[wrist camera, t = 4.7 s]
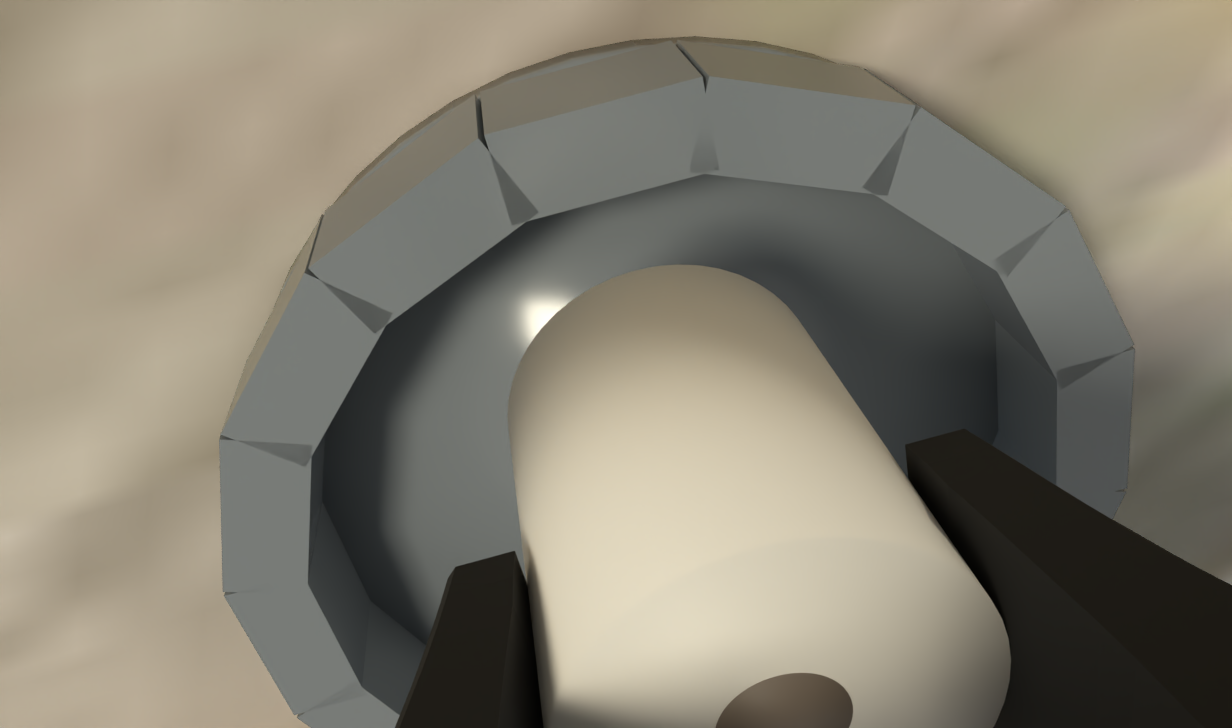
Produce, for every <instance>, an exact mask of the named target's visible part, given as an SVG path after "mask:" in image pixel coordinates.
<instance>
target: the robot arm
mask: <svg viewBox="0 0 1232 728" xmlns="http://www.w3.org/2000/svg"><path fill="white" fill-rule="evenodd" d="M905 449H906V460H907V472H908V479H909V481H910V482H911V484H912V485H913V487H914V488H915V490H916V491H917V493H918V494H919V495H920V497H921V498H922V500H923V501H924V503H925V504H926V506H927V507H928V509H929V510H930V511H931V513H932V514H933V516H934V517H935V519H936V520H937V522H938V523H939V525H940V526H941V527H942V529H943V530H944V532H945V533H946V535H947V536H948V538H949V539H950V540H951V542H952V543H953V545H954V546H955V548H956V549H957V551H958V552H959V554H960V555H961V556H962V558H963V559H964V561H965V562H966V564H967V565H968V567H969V568H970V570H971V571H972V572H973V574H974V575H975V577H976V578H977V580H978V581H979V583H980V584H981V586H982V587H983V588H984V590H985V591H986V593H987V594H988V596H989V597H990V599H991V600H992V602H993V604H994V605H995V607H996V609H997V611H998V612H999V614H1000V616H1001V618H1002V620H1003V623H1004V626H1005V629H1006V632H1007V635H1008V638H1009V646H1010V655H1011V667H1010V681H1009V685H1008V689H1007V693H1006V698H1005V702H1004V704H1003V707H1002V709H1001V712H1000V714H999V716H998V719H997V721H996V723H995V725H994V727H993V728H1232V585H1230V584H1228V583H1226V582H1224V581H1222V580H1220V579H1218V578H1216V577H1214V576H1212V575H1211V574H1209V573H1207V572H1205V571H1203V570H1201V569H1199V568H1197V567H1195V566H1194V565H1192V564H1190V563H1188V562H1186V561H1184V560H1183V559H1181V558H1179V557H1177V556H1175V555H1173V554H1172V553H1170V552H1168V551H1166V550H1165V549H1163V548H1161V547H1159V546H1158V545H1156V544H1154V543H1152V542H1151V541H1149V540H1147V539H1145V538H1144V537H1142V536H1140V535H1139V534H1137V533H1135V532H1133V531H1132V530H1130V529H1128V528H1126V527H1125V526H1123V525H1121V524H1119V523H1118V522H1116V521H1114V520H1112V519H1111V518H1109V517H1107V516H1106V515H1104V514H1102V513H1101V512H1099V511H1097V510H1096V509H1094V508H1092V507H1091V506H1089V505H1087V504H1086V503H1084V502H1082V501H1081V500H1079V499H1077V498H1076V497H1074V496H1073V495H1071V494H1069V493H1068V492H1066V491H1064V490H1063V489H1061V488H1060V487H1058V486H1056V485H1055V484H1053V483H1051V482H1050V481H1048V480H1047V479H1045V478H1043V477H1042V476H1040V475H1039V474H1037V473H1035V472H1034V471H1032V470H1031V469H1029V468H1027V467H1026V466H1024V465H1023V464H1021V463H1019V462H1018V461H1016V460H1015V459H1013V458H1011V457H1010V456H1008V455H1007V454H1005V453H1003V452H1002V451H1000V450H999V449H997V448H995V447H994V446H992V445H991V444H989V443H987V442H986V441H984V440H982V439H981V438H979V437H978V436H976V435H974V434H973V433H971V432H969V431H968V430H966V429H965V428H964V429H961V430H957V431H953V432H950V433H946V434H942V435H939V436H935V437H931V438H928V439H924V440H920V441H916V442H913V443H909V444H905ZM395 728H544V727H543V718H542V710H541V701H540V692H539V683H538V674H537V665H536V656H535V647H534V639H533V630H532V622H531V613H530V604H529V596H528V587H527V582H526V580H525V577H524V574H523V571H522V569H521V566H520V563H519V561H518V558H517V555H516V552H515V551H512V552H508V553H504V554H501V555H497V556H493V557H490V558H486V559H482V560H478V561H475V562H471V563H467V564H464V565H460V566H456V567H455V568H454V570H453V571H452V573H451V574H450V576H449V577H448V579H447V583H446V586H445V589H444V593H443V596H442V599H441V603H440V606H439V609H438V612H437V615H436V618H435V621H434V624H433V627H432V630H431V633H430V636H429V639H428V642H427V645H426V648H425V650H424V653H423V656H422V659H421V661H420V664H419V667H418V670H417V672H416V675H415V678H414V681H413V683H412V686H411V689H410V691H409V693H408V696H407V698H406V701H405V703H404V706H403V708H402V711H401V713H400V716H399V718H398V721H397V723H396V726H395Z"/></svg>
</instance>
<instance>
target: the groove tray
mask: <svg viewBox="0 0 1232 728" xmlns="http://www.w3.org/2000/svg"><path fill="white" fill-rule="evenodd" d="M1065 207H1066V206H1065V205H1063V204H1062V203H1060V202H1059V201H1057V200H1056V199H1054V198H1053V197H1051V196H1050V195H1048V194H1047V193H1046V192H1044V191H1043V190H1041V189H1040V188H1038V187H1037V186H1035V185H1034V184H1032V183H1031V182H1029V181H1028V180H1027V179H1025V178H1024V177H1022V176H1021V175H1019V174H1018V173H1016V172H1015V171H1013V170H1012V169H1010V168H1009V167H1008V166H1006V165H1005V164H1003V163H1002V162H1000V161H999V160H997V159H996V158H994V157H993V156H992V155H990V154H989V153H987V152H986V151H984V150H983V149H981V148H980V147H978V146H977V145H975V144H974V143H973V142H971V141H970V140H968V139H967V138H965V137H964V136H962V135H961V134H959V133H958V132H956V131H955V130H954V129H952V128H951V127H949V126H948V125H946V124H945V123H943V122H942V121H940V120H939V119H937V118H936V117H935V116H933V115H932V114H930V113H929V112H927V111H926V110H924V109H923V108H921V107H920V106H918V105H917V104H916V103H914V102H913V101H911V100H910V99H908V98H907V97H905V96H904V95H902V94H901V93H899V92H898V91H896V90H895V89H894V88H892V87H891V86H889V85H888V84H886V83H885V82H883V81H882V80H880V79H879V78H877V77H876V76H874V75H873V74H872V73H870V72H869V71H867V70H866V69H862V68H861V67H857V66H850V65H843V64H837V63H834V62H832V61H829V60H827V59H824V58H822V57H819V56H816V55H814V54H810V53H806V52H801V51H797V50H792V49H788V48H783V47H779V46H774V45H770V44H766V43H761V42H757V41H746V40H734V39H721V38H708V37H696V36H693V37H676V38H659V39H643V40H630V41H625V42H620V43H615V44H610V45H605V46H600V47H595V48H589V49H584V50H579V51H574V52H569V53H566V54H563V55H560V56H558V57H555V58H552V59H549V60H546V61H543V62H540V63H537V64H534V65H531V66H528V67H525V68H522V69H519V70H516V71H513V72H510V73H508V74H506V75H504V76H502V77H500V78H498V79H496V80H494V81H492V82H490V83H488V84H486V85H484V86H482V87H480V88H478V89H476V90H474V91H472V92H470V93H468V94H466V95H464V96H462V97H460V98H458V99H456V100H454V101H452V102H450V103H449V104H447V105H446V106H444V107H443V108H442V109H440V110H439V111H437V112H436V113H434V114H433V115H431V116H430V117H428V118H427V119H425V120H424V121H422V122H421V123H419V124H418V125H416V126H415V127H413V128H412V129H411V130H409V131H408V132H406V133H405V134H403V135H402V136H400V137H399V138H398V139H397V140H396V141H395V142H394V143H393V144H392V145H390V146H389V147H388V148H387V149H386V150H385V151H384V152H383V153H382V154H380V155H379V156H378V157H377V158H376V159H375V160H374V161H373V162H372V163H370V164H369V165H368V166H367V167H366V168H365V169H364V170H363V171H362V172H360V173H359V174H358V175H357V176H356V177H355V178H354V180H353V181H352V182H351V183H350V184H349V186H348V187H347V188H346V189H345V190H344V192H343V193H342V194H341V195H340V196H339V198H338V199H337V200H336V201H335V202H334V204H333V205H331V206H330V207H329V208H328V209H326V210H325V213H324V215H321V217H320V219H319V221H318V223H317V225H316V227H315V228H314V230H313V232H312V233H311V235H310V237H309V238H308V240H307V242H306V243H305V245H304V246H303V248H302V250H301V251H300V253H299V255H298V256H297V258H296V260H295V261H294V263H293V264H292V266H291V268H290V270H289V272H288V275H287V277H286V280H285V282H284V284H283V287H282V289H281V292H280V294H279V296H278V299H277V301H276V304H275V306H274V308H273V311H272V313H271V315H270V316H269V318H268V320H267V322H266V324H265V326H264V328H263V330H262V332H261V334H260V336H259V338H258V340H257V342H256V344H255V346H254V348H253V350H252V352H251V353H250V355H249V357H248V359H247V361H246V364H245V367H244V370H243V373H242V375H241V378H240V381H239V384H238V387H237V389H236V392H235V395H234V398H233V401H232V403H231V406H230V409H229V412H228V415H227V418H226V420H225V423H224V426H223V429H222V432H221V434H220V435H221V436H220V439H219V448H220V492H221V535H222V579H223V592H225V595H224V597H225V598H226V600H227V602H228V604H229V605H230V607H231V609H232V610H233V612H234V614H235V615H236V617H237V619H238V620H239V622H240V624H241V626H242V627H243V629H244V631H245V632H246V634H247V636H248V637H249V639H250V641H251V643H252V644H253V646H254V648H255V649H256V651H257V653H258V654H259V656H260V658H261V659H262V661H263V663H264V665H265V666H266V668H267V670H268V671H269V673H270V675H271V676H272V678H273V680H274V681H275V683H276V685H277V687H278V688H279V690H280V692H281V693H282V695H283V697H284V698H285V700H286V702H287V704H288V705H289V707H290V709H291V710H292V712H293V714H294V715H296V714H298V716H297V718H298V719H299V720H301V721H302V722H304V723H305V724H307V725H308V726H309V727H311V728H395V726H396V723H397V721H398V718H399V716H400V713H401V711H402V708H403V706H404V703H405V701H406V698H407V696H408V693H409V691H410V689H411V686H412V683H413V681H414V678H415V675H416V672H417V670H418V667H419V664H420V661H421V659H422V656H423V653H424V650H425V648H426V645H427V642H428V639H429V636H430V633H431V630H432V627H433V624H434V621H435V618H436V615H437V612H438V609H439V606H440V603H441V599H442V596H443V593H444V589H445V586H446V583H447V579H448V577H449V576H450V574H451V573H452V571H453V570H454V568H455V567H456V566H460V565H464V564H467V563H471V562H475V561H478V560H482V559H486V558H490V557H493V556H497V555H501V554H504V553H508V552H512V551H515V552H516V555H517V558H518V561H519V563H520V566H521V569H522V571H523V574H524V577H525V580H526V574H525V566H524V557H523V549H522V540H521V532H520V523H519V515H518V506H517V498H516V489H515V481H514V472H513V464H512V455H511V447H510V438H509V429H508V418H507V417H508V400H509V395H510V390H511V386H512V381H513V379H514V376H515V373H516V371H517V368H518V365H519V363H520V361H521V359H522V357H523V355H524V354H525V352H526V350H527V348H528V346H529V345H530V343H531V342H532V341H533V339H534V338H535V337H536V335H537V334H538V332H539V331H540V330H541V328H542V327H543V326H544V325H545V324H546V323H547V322H548V321H549V320H550V319H551V318H552V317H553V316H554V315H555V314H556V313H557V312H558V311H559V310H561V309H562V308H563V307H564V306H566V305H567V304H568V303H569V302H571V301H572V300H573V299H575V298H576V297H578V296H579V295H581V294H583V293H584V292H586V291H587V290H589V289H590V288H592V287H594V286H596V285H599V284H601V283H603V282H605V281H607V280H609V279H611V278H614V277H617V276H620V275H623V274H626V273H629V272H632V271H636V270H640V269H645V268H650V267H654V266H665V265H676V264H678V265H700V266H706V267H713V268H719V269H722V270H726V271H729V272H732V273H736V274H739V275H741V276H743V277H745V278H748V279H750V280H752V281H754V282H756V283H758V284H760V285H761V286H763V287H764V288H766V289H767V290H769V291H770V292H772V293H773V294H774V295H776V296H777V297H778V298H779V299H780V300H781V301H782V302H783V303H785V304H786V305H787V306H788V308H789V309H790V310H791V311H792V312H793V314H794V315H795V316H796V317H797V318H798V320H799V321H800V323H801V324H802V326H803V327H804V328H805V330H806V331H807V333H808V334H809V336H810V337H811V339H812V340H813V341H814V343H815V344H816V346H817V347H818V349H819V350H820V352H821V353H822V355H823V356H824V357H825V359H826V360H827V362H828V363H829V365H830V366H831V368H832V369H833V371H834V372H835V373H836V375H837V376H838V378H839V379H840V381H841V382H842V384H843V385H844V387H845V388H846V389H847V391H848V392H849V394H850V395H851V397H852V398H853V400H854V401H855V403H856V404H857V405H858V407H859V408H860V410H861V411H862V413H863V414H864V416H865V417H866V418H867V420H868V421H869V423H870V424H871V426H872V427H873V429H874V430H875V432H876V433H877V434H878V436H879V437H880V439H881V440H882V442H883V443H884V445H885V446H886V448H887V449H888V450H889V452H890V453H891V455H892V456H893V458H894V459H895V461H896V462H897V464H898V465H899V466H900V468H901V469H902V471H903V472H904V474H905V475H906V477H907V478H908V472H907V460H906V449H905V444H909V443H913V442H916V441H920V440H924V439H928V438H931V437H935V436H939V435H942V434H946V433H950V432H953V431H957V430H961V429H964V428H965V429H966V430H968V431H969V432H971V433H973V434H974V435H976V436H978V437H979V438H981V439H982V440H984V441H986V442H987V443H989V444H991V445H992V446H994V447H995V448H997V449H999V450H1000V451H1002V452H1003V453H1005V454H1007V455H1008V456H1010V457H1011V458H1013V459H1015V460H1016V461H1018V462H1019V463H1021V464H1023V465H1024V466H1026V467H1027V468H1029V469H1031V470H1032V471H1034V472H1035V473H1037V474H1039V475H1040V476H1042V477H1043V478H1045V479H1047V480H1048V481H1050V482H1051V483H1053V484H1055V485H1056V486H1058V487H1060V488H1061V489H1063V490H1064V491H1066V492H1068V493H1069V494H1071V495H1073V496H1074V497H1076V498H1077V499H1079V500H1081V501H1082V502H1084V503H1086V504H1087V505H1089V506H1091V507H1092V508H1094V509H1096V510H1097V511H1099V512H1101V513H1102V514H1104V515H1106V516H1107V517H1109V518H1111V519H1113V517H1114V515H1115V513H1116V511H1117V509H1118V507H1119V505H1120V503H1121V501H1122V499H1123V497H1124V495H1125V493H1126V492H1125V491H1124V489H1126V488H1127V482H1128V464H1129V446H1130V427H1131V409H1132V391H1133V373H1134V354H1135V349H1134V348H1133V347H1132V346H1133V345H1134V344H1133V342H1132V340H1131V337H1130V335H1129V333H1128V331H1127V329H1126V327H1125V325H1124V323H1123V321H1122V319H1121V317H1120V315H1119V313H1118V310H1117V308H1116V306H1115V304H1114V302H1113V300H1112V298H1111V296H1110V294H1109V292H1108V290H1107V288H1106V286H1105V283H1104V281H1103V279H1102V277H1101V275H1100V273H1099V271H1098V269H1097V267H1096V265H1095V263H1094V261H1093V259H1092V256H1091V254H1090V252H1089V250H1088V248H1087V246H1086V244H1085V242H1084V240H1083V238H1082V236H1081V234H1080V232H1079V230H1078V227H1077V225H1076V223H1075V221H1074V219H1073V217H1072V215H1071V213H1070V211H1069V210H1068V209H1067V208H1065Z"/></svg>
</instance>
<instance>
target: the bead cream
mask: <svg viewBox="0 0 1232 728" xmlns="http://www.w3.org/2000/svg"><path fill="white" fill-rule="evenodd" d="M507 418H508V429H509V438H510V447H511V455H512V464H513V472H514V481H515V489H516V498H517V506H518V515H519V523H520V532H521V540H522V549H523V557H524V566H525V574H526V582H527V587H528V596H529V604H530V613H531V622H532V630H533V639H534V647H535V656H536V665H537V674H538V683H539V692H540V701H541V710H542V718H543V727H544V728H993V727H994V725H995V723H996V721H997V719H998V716H999V714H1000V712H1001V709H1002V707H1003V704H1004V702H1005V698H1006V693H1007V689H1008V685H1009V681H1010V667H1011V655H1010V646H1009V638H1008V635H1007V632H1006V629H1005V626H1004V623H1003V620H1002V618H1001V616H1000V614H999V612H998V611H997V609H996V607H995V605H994V604H993V602H992V600H991V599H990V597H989V596H988V594H987V593H986V591H985V590H984V588H983V587H982V586H981V584H980V583H979V581H978V580H977V578H976V577H975V575H974V574H973V572H972V571H971V570H970V568H969V567H968V565H967V564H966V562H965V561H964V559H963V558H962V556H961V555H960V554H959V552H958V551H957V549H956V548H955V546H954V545H953V543H952V542H951V540H950V539H949V538H948V536H947V535H946V533H945V532H944V530H943V529H942V527H941V526H940V525H939V523H938V522H937V520H936V519H935V517H934V516H933V514H932V513H931V511H930V510H929V509H928V507H927V506H926V504H925V503H924V501H923V500H922V498H921V497H920V495H919V494H918V493H917V491H916V490H915V488H914V487H913V485H912V484H911V482H910V481H909V479H908V478H907V477H906V475H905V474H904V472H903V471H902V469H901V468H900V466H899V465H898V464H897V462H896V461H895V459H894V458H893V456H892V455H891V453H890V452H889V450H888V449H887V448H886V446H885V445H884V443H883V442H882V440H881V439H880V437H879V436H878V434H877V433H876V432H875V430H874V429H873V427H872V426H871V424H870V423H869V421H868V420H867V418H866V417H865V416H864V414H863V413H862V411H861V410H860V408H859V407H858V405H857V404H856V403H855V401H854V400H853V398H852V397H851V395H850V394H849V392H848V391H847V389H846V388H845V387H844V385H843V384H842V382H841V381H840V379H839V378H838V376H837V375H836V373H835V372H834V371H833V369H832V368H831V366H830V365H829V363H828V362H827V360H826V359H825V357H824V356H823V355H822V353H821V352H820V350H819V349H818V347H817V346H816V344H815V343H814V341H813V340H812V339H811V337H810V336H809V334H808V333H807V331H806V330H805V328H804V327H803V326H802V324H801V323H800V321H799V320H798V318H797V317H796V316H795V315H794V314H793V312H792V311H791V310H790V309H789V308H788V306H787V305H786V304H785V303H783V302H782V301H781V300H780V299H779V298H778V297H777V296H776V295H774V294H773V293H772V292H770V291H769V290H767V289H766V288H764V287H763V286H761V285H760V284H758V283H756V282H754V281H752V280H750V279H748V278H745V277H743V276H741V275H739V274H736V273H732V272H729V271H726V270H722V269H719V268H713V267H706V266H700V265H678V264H676V265H665V266H654V267H650V268H645V269H640V270H636V271H632V272H629V273H626V274H623V275H620V276H617V277H614V278H611V279H609V280H607V281H605V282H603V283H601V284H599V285H596V286H594V287H592V288H590V289H589V290H587V291H586V292H584V293H583V294H581V295H579V296H578V297H576V298H575V299H573V300H572V301H571V302H569V303H568V304H567V305H566V306H564V307H563V308H562V309H561V310H559V311H558V312H557V313H556V314H555V315H554V316H553V317H552V318H551V319H550V320H549V321H548V322H547V323H546V324H545V325H544V326H543V327H542V328H541V330H540V331H539V332H538V334H537V335H536V337H535V338H534V339H533V341H532V342H531V343H530V345H529V346H528V348H527V350H526V352H525V354H524V355H523V357H522V359H521V361H520V363H519V365H518V368H517V371H516V373H515V376H514V379H513V381H512V386H511V390H510V395H509V400H508V417H507Z"/></svg>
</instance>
